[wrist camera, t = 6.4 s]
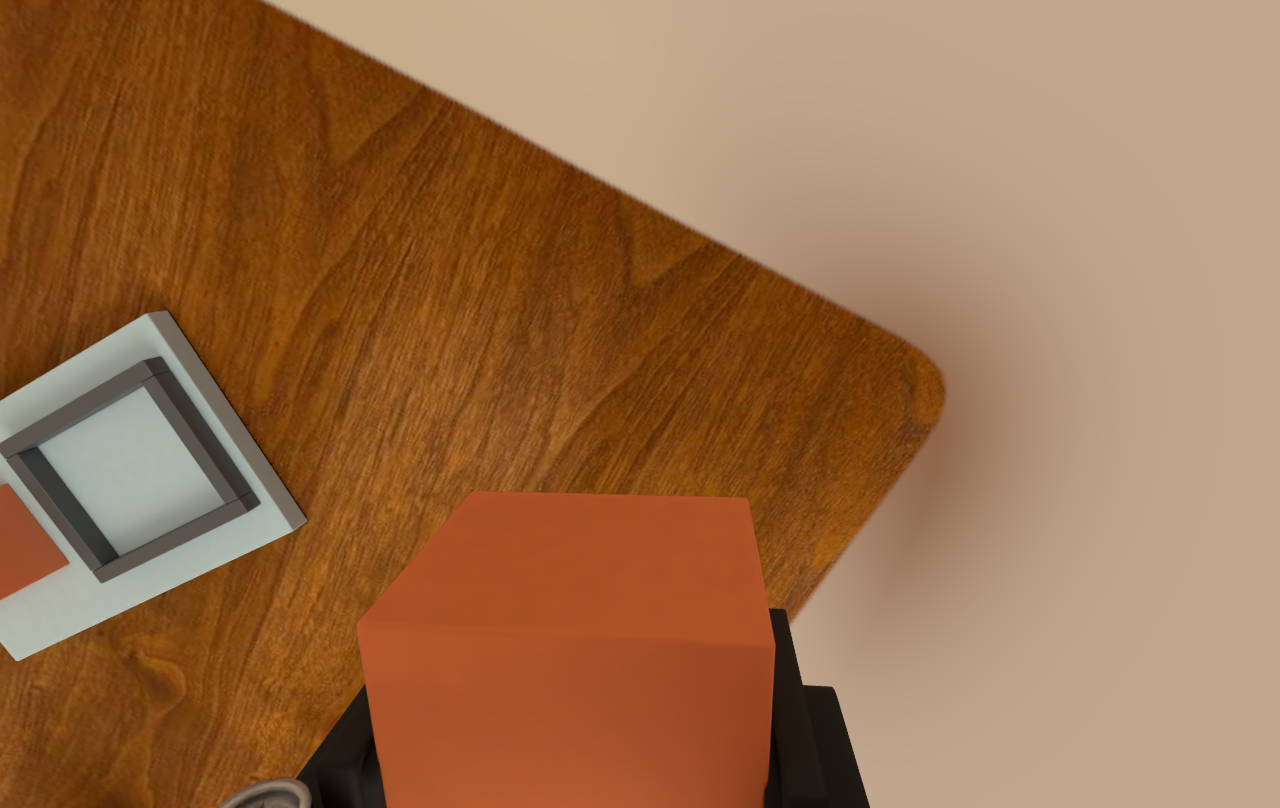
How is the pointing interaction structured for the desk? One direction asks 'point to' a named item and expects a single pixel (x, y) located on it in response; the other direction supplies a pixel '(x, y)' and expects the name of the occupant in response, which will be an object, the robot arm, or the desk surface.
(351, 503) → the desk surface
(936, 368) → the desk surface
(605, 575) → the orange rectangular block
